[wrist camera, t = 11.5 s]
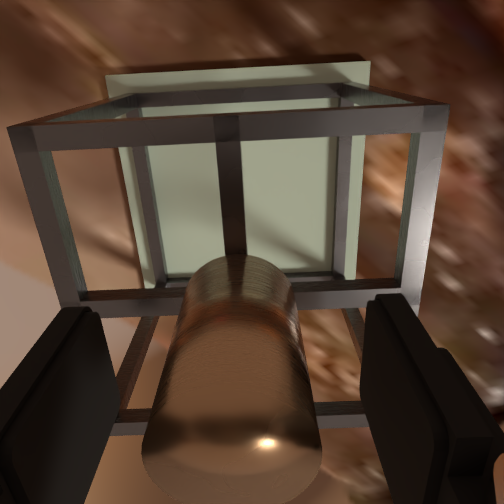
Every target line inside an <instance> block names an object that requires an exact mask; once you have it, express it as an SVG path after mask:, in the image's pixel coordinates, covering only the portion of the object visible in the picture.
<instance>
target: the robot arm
mask: <svg viewBox="0 0 504 504" xmlns="http://www.w3.org/2000/svg"><path fill="white" fill-rule="evenodd" d="M360 398H361V402H362V405H363V408H364V412H365V415H366V418H367V421H368V424H369V427H370V430H371V434H372V437H373V440H374V443H375V446H376V449H377V452H378V456H379V459H380V462H381V465H382V468H383V471H384V474H385V478H386V481H387V484H388V487H389V490H390V493H391V496H392V499H393V503H394V504H504V433H503V431H502V429H501V428H500V427H499V425H498V424H497V422H496V421H495V419H494V418H493V416H492V415H491V413H490V412H489V410H488V409H487V407H486V406H485V404H484V403H483V401H482V400H481V398H480V397H479V395H478V394H477V392H476V391H475V389H474V388H473V386H472V385H471V383H470V382H469V380H468V379H467V377H466V376H465V374H464V373H463V371H462V370H461V368H460V367H459V365H458V364H457V363H456V361H455V360H454V358H453V357H452V355H451V354H450V353H449V351H448V350H447V349H445V348H437V347H436V345H435V344H434V342H433V341H432V339H431V337H430V336H429V334H428V333H427V331H426V330H425V328H424V327H423V325H422V323H421V322H420V320H419V319H418V317H417V316H416V314H415V312H414V311H413V309H412V308H411V306H410V305H409V303H408V301H407V300H406V298H405V297H404V295H403V294H402V293H388V294H377V295H376V296H375V299H374V300H369V301H368V302H367V307H366V318H365V330H364V341H363V352H362V364H361V375H360ZM119 409H120V393H119V389H118V385H117V381H116V377H115V373H114V369H113V366H112V361H111V358H110V354H109V350H108V346H107V342H106V338H105V335H104V330H103V326H102V322H101V318H100V315H99V314H98V312H93V311H92V309H91V308H90V307H88V306H78V307H64V308H62V309H61V310H60V311H59V313H58V314H57V315H56V317H55V318H54V319H53V321H52V322H51V323H50V324H49V326H48V327H47V328H46V330H45V331H44V332H43V334H42V335H41V336H40V338H39V339H38V340H37V342H36V343H35V344H34V346H33V347H32V348H31V350H30V351H29V352H28V353H27V355H26V356H25V357H24V359H23V360H22V361H21V363H20V364H19V365H18V367H17V368H16V369H15V371H14V372H13V373H12V374H11V376H10V377H9V378H8V380H7V381H6V382H5V384H4V385H3V386H2V388H1V389H0V504H84V502H85V499H86V497H87V494H88V492H89V489H90V486H91V483H92V481H93V478H94V476H95V473H96V470H97V468H98V465H99V462H100V460H101V457H102V454H103V451H104V449H105V446H106V444H107V441H108V438H109V436H110V433H111V431H112V428H113V425H114V423H115V420H116V417H117V415H118V412H119Z"/></svg>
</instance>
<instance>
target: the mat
mask: <svg viewBox="0 0 504 504" xmlns="http://www.w3.org/2000/svg"><path fill="white" fill-rule="evenodd" d="M370 62H371V61H357V62H339V63H320V64H301V65H283V66H264V67H246V68H227V69H209V70H190V71H172V72H153V73H135V74H116V75H105V79H106V84H107V90H108V95H109V98H112V97H115V96H119V95H123V94H126V93H144V92H163V91H182V90H201V89H220V88H238V87H257V86H276V85H295V84H314V83H333V82H357V83H361V84H365V85H369V76H370ZM354 106H360V105H357V104H355V103H354ZM329 107H338V98H319V99H299V100H280V101H261V102H242V103H223V104H203V105H184V106H165V107H146V108H142V114H143V117H155V116H174V115H193V114H213V113H232V112H252V111H271V110H290V109H310V108H329ZM116 118H127V117H126V113H125V114H123V115H121V116H118V117H116ZM116 118H114V119H116ZM336 146H337V137H318V138H298V139H278V140H258V141H241V148H242V165H243V181H244V198H245V215H246V232H247V249H248V255H252V256H256V257H259V258H262V259H265V260H267V261H269V262H270V263H272V264H274V265H275V266H276V267H278V268H279V269H280V270H281V271H282V272H283V273H295V272H318V271H331V268H332V243H333V219H334V195H335V170H336ZM364 146H365V135H358V136H352V149H351V167H350V184H349V202H348V219H347V237H346V254H345V272H344V276H345V278H346V280H354V279H355V274H356V260H357V246H358V231H359V217H360V203H361V189H362V175H363V161H364ZM148 152H149V158H150V164H151V170H152V177H153V183H154V189H155V196H156V202H157V208H158V215H159V221H160V227H161V233H162V240H163V246H164V252H165V259H166V265H167V271H168V278H179V277H192V276H193V275H194V274H195V272H196V271H197V270H198V269H199V268H201V267H202V266H203V265H205V264H206V263H208V262H209V261H211V260H213V259H216V258H219V257H222V256H225V248H224V237H223V225H222V214H221V202H220V191H219V179H218V168H217V156H216V145H215V143H198V144H179V145H159V146H148ZM119 153H120V158H121V163H122V169H123V174H124V179H125V185H126V190H127V195H128V200H129V206H130V211H131V216H132V221H133V227H134V232H135V237H136V242H137V248H138V253H139V258H140V264H141V269H142V274H143V279H144V285H145V288H154V287H155V284H156V282H155V276H154V271H153V265H152V259H151V254H150V248H149V242H148V237H147V231H146V225H145V220H144V214H143V208H142V202H141V197H140V191H139V185H138V180H137V174H136V168H135V163H134V157H133V151H132V147H119Z"/></svg>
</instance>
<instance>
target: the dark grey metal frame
mask: <svg viewBox="0 0 504 504" xmlns="http://www.w3.org/2000/svg"><path fill="white" fill-rule="evenodd" d="M319 98H338V107H329V108H310V109H290V110H271V111H252V112H232V113H213V114H193V115H174V116H155V117H143V114H142V108H146V107H165V106H184V105H203V104H223V103H242V102H261V101H280V100H299V99H319ZM354 103H355V104H357V105H360V106H354ZM449 110H450V104H447V103H443V102H438V101H434V100H430V99H425V98H421V97H417V96H412V95H408V94H404V93H400V92H395V91H391V90H387V89H382V88H378V87H374V86H370V85H365V84H361V83H357V82H333V83H314V84H295V85H276V86H257V87H238V88H220V89H201V90H182V91H163V92H144V93H126V94H123V95H119V96H115V97H112V98H108V99H105V100H101V101H98V102H94V103H91V104H87V105H83V106H80V107H76V108H73V109H69V110H66V111H62V112H59V113H55V114H51V115H48V116H44V117H41V118H37V119H34V120H30V121H27V122H23V123H20V124H16V125H12V126H9V127H7V131H8V134H9V137H10V141H11V144H12V147H13V151H14V154H15V157H16V161H17V164H18V167H19V170H20V174H21V177H22V180H23V184H24V187H25V190H26V194H27V197H28V200H29V204H30V207H31V210H32V214H33V217H34V220H35V223H36V227H37V230H38V233H39V237H40V240H41V243H42V247H43V250H44V253H45V257H46V260H47V263H48V266H49V270H50V273H51V276H52V280H53V283H54V286H55V290H56V293H57V296H58V299H59V302H60V306H61V309H62V308H64V307H78V306H88V307H90V308H91V309H92V311H93V312H98V314H99V315H100V318H119V317H141V320H140V322H139V324H138V327H137V329H136V331H135V334H134V336H133V338H132V341H131V343H130V346H129V348H128V350H127V352H126V355H125V357H124V360H123V362H122V364H121V367H120V369H119V371H118V374H117V376H116V381H117V385H118V389H119V393H120V409H119V412H118V415H117V417H116V420H115V423H114V425H113V428H112V431H111V433H110V436H123V435H144V438H143V442H142V453H141V454H142V460H143V464H144V466H145V469H146V471H147V473H148V475H149V477H150V478H151V479H152V481H153V482H154V483H155V484H156V485H157V486H158V487H159V488H160V489H161V490H162V491H163V492H165V493H166V494H167V495H169V496H170V497H172V498H174V499H175V500H177V501H179V502H181V503H183V504H284V503H286V502H288V501H290V500H291V499H293V498H295V497H296V496H298V495H299V494H300V493H302V492H303V491H304V490H305V489H306V488H307V487H308V486H309V485H310V484H311V482H312V481H313V480H314V478H315V477H316V475H317V473H318V471H319V468H320V465H321V461H322V445H321V440H320V434H319V429H323V428H351V427H369V424H368V421H367V418H366V415H365V412H364V408H363V405H362V402H361V401H339V402H314V401H313V395H312V390H311V384H310V379H309V373H308V368H307V362H306V356H305V351H304V345H303V340H302V334H301V329H300V323H299V318H298V312H297V310H313V309H337V308H341V310H342V313H343V315H344V318H345V321H346V324H347V327H348V329H349V332H350V335H351V338H352V341H353V343H354V346H355V349H356V352H357V355H358V357H359V360H360V363H361V364H362V352H363V341H364V330H365V323H364V321H363V319H362V316H361V314H360V311H359V309H358V308H362V307H367V302H368V301H369V300H374V299H375V296H376V295H377V294H388V293H402V294H403V295H404V297H405V298H406V300H407V301H408V303H409V305H410V306H411V308H412V309H413V311H414V312H415V314H416V316H417V317H418V311H419V304H420V298H421V291H422V285H423V278H424V272H425V265H426V259H427V252H428V246H429V239H430V233H431V226H432V220H433V214H434V207H435V201H436V194H437V188H438V181H439V175H440V168H441V162H442V155H443V149H444V142H445V136H446V130H447V123H448V117H449ZM125 113H126V117H127V118H116V117H118V116H121V115H123V114H125ZM114 118H116V119H114ZM398 133H411V139H410V148H409V156H408V165H407V173H406V181H405V190H404V198H403V207H402V215H401V224H400V232H399V240H398V249H397V257H396V266H395V274H394V278H378V279H354V280H346V278H345V276H344V272H345V254H346V237H347V219H348V202H349V184H350V167H351V149H352V136H358V135H378V134H398ZM318 137H337V146H336V170H335V195H334V219H333V243H332V268H331V271H318V272H295V273H283V272H282V271H281V270H280V269H279V268H278V267H276V266H275V265H274V264H272V263H270V262H269V261H267V260H265V259H262V258H259V257H256V256H252V255H248V249H247V232H246V215H245V198H244V181H243V165H242V148H241V141H258V140H278V139H298V138H318ZM198 143H215V145H216V156H217V168H218V179H219V191H220V202H221V214H222V225H223V237H224V248H225V256H222V257H219V258H216V259H213V260H211V261H209V262H208V263H206V264H205V265H203V266H202V267H201V268H199V269H198V270H197V271H196V272H195V274H194V275H193V276H192V277H179V278H168V271H167V265H166V259H165V252H164V246H163V240H162V233H161V227H160V221H159V215H158V208H157V202H156V196H155V189H154V183H153V177H152V170H151V164H150V158H149V152H148V146H159V145H179V144H198ZM119 147H132V151H133V157H134V163H135V168H136V174H137V180H138V185H139V191H140V197H141V202H142V208H143V214H144V220H145V225H146V231H147V237H148V242H149V248H150V254H151V259H152V265H153V271H154V276H155V282H156V284H155V287H154V288H143V289H120V290H97V291H87V287H86V283H85V279H84V275H83V272H82V268H81V264H80V260H79V256H78V252H77V249H76V245H75V241H74V237H73V233H72V230H71V226H70V222H69V218H68V214H67V211H66V207H65V203H64V199H63V195H62V192H61V188H60V184H59V180H58V176H57V172H56V169H55V165H54V161H53V157H52V153H51V151H59V150H79V149H99V148H119ZM168 315H178V319H177V322H176V326H175V329H174V333H173V336H172V340H171V343H170V347H169V350H168V354H167V358H166V361H165V364H164V368H163V371H162V375H161V378H160V382H159V385H158V389H157V392H156V396H155V399H154V403H153V406H152V408H147V409H127V406H128V403H129V400H130V398H131V395H132V392H133V389H134V386H135V384H136V381H137V378H138V375H139V372H140V370H141V367H142V364H143V361H144V358H145V356H146V353H147V350H148V347H149V344H150V342H151V339H152V336H153V333H154V330H155V328H156V325H157V322H158V319H159V316H168Z"/></svg>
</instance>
